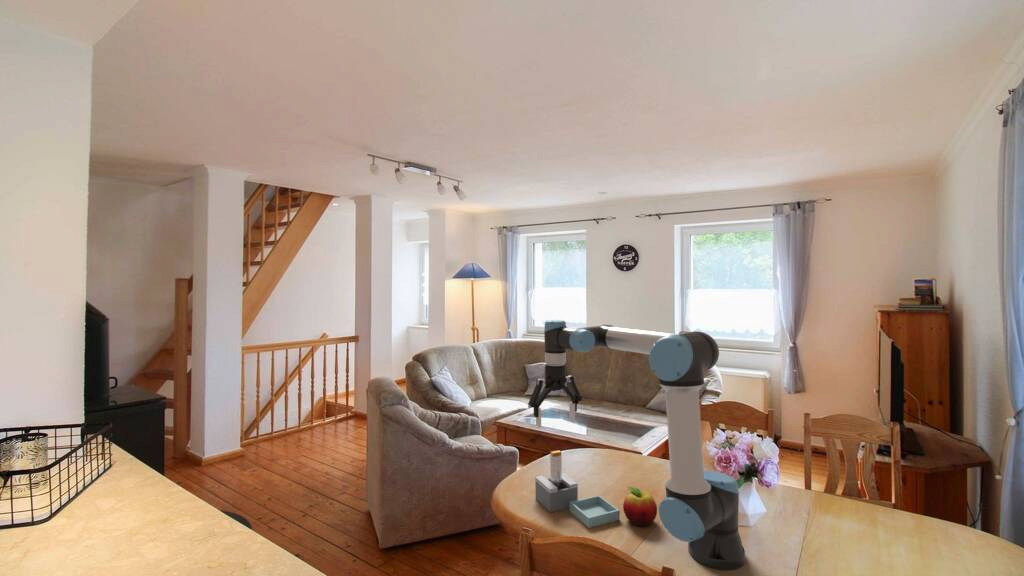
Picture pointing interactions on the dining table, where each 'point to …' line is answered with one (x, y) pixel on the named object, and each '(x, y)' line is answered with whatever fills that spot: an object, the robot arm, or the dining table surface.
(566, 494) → the block
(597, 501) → the tray
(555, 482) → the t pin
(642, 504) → the fruit
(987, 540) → the dining table surface
